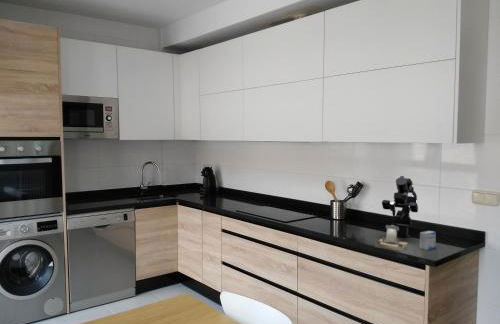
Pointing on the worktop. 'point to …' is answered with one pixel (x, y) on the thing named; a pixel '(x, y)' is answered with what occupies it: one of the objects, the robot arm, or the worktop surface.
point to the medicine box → (427, 240)
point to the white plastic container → (391, 233)
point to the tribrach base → (391, 244)
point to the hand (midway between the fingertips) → (396, 218)
